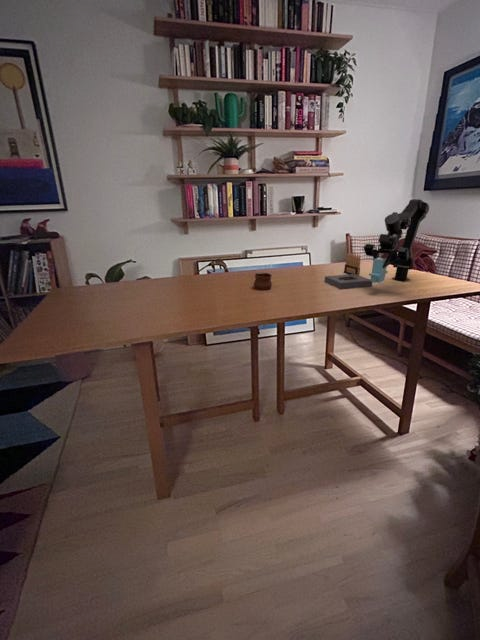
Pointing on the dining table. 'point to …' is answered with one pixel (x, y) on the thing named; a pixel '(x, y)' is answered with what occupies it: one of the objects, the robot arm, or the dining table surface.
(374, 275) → the servo
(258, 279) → the ceramic pot
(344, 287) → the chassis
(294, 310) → the dining table surface
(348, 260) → the ammunition clip
